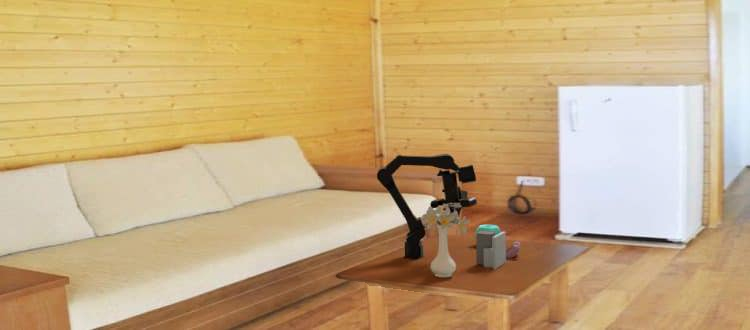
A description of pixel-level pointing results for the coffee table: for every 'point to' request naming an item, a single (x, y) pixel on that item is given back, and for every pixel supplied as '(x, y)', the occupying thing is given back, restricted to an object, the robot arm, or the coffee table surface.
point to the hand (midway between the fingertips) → (456, 224)
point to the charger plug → (483, 244)
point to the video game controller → (513, 250)
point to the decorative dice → (488, 229)
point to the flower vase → (444, 238)
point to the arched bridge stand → (496, 251)
